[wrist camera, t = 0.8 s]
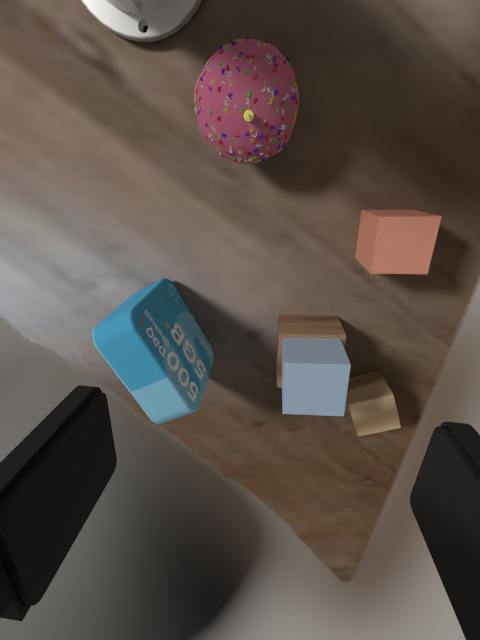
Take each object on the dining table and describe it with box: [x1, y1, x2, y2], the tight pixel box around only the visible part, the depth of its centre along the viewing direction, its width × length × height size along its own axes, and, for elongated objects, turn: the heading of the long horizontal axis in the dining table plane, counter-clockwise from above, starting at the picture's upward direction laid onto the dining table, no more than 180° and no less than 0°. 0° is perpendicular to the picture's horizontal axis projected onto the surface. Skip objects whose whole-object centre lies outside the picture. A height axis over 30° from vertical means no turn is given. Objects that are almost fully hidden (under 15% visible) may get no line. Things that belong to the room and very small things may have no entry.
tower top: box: [282, 338, 351, 416], centre depth 32 cm, size 6×6×5 cm
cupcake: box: [194, 37, 299, 164], centre depth 24 cm, size 9×8×12 cm
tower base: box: [277, 315, 346, 387], centre depth 37 cm, size 7×7×5 cm
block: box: [346, 371, 401, 436], centre depth 39 cm, size 5×5×5 cm
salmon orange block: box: [355, 209, 442, 274], centre depth 30 cm, size 5×5×6 cm
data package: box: [93, 279, 214, 424], centre depth 34 cm, size 12×4×12 cm, turn 27°
